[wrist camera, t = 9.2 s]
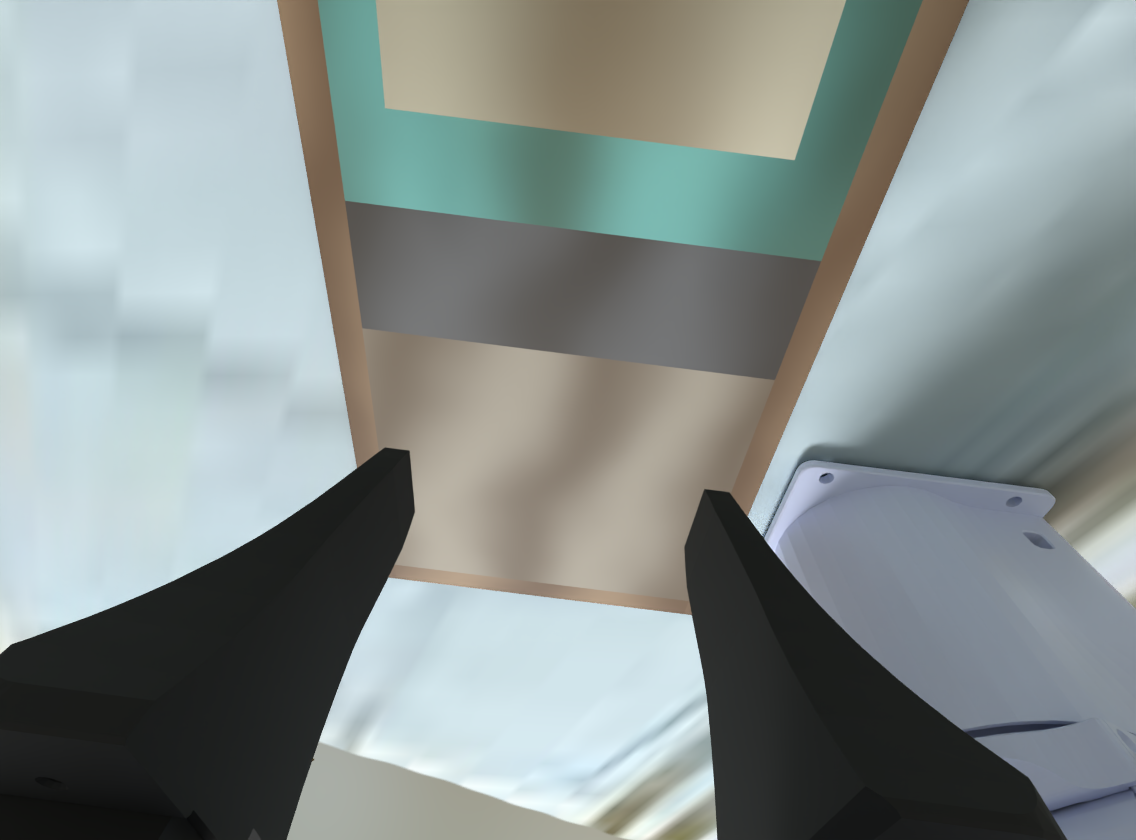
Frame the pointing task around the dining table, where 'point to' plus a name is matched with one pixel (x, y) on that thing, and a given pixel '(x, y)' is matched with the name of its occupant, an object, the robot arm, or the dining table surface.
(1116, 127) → the dining table surface
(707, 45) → the birch block
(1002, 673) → the robot arm
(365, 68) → the shallow brown tray
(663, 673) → the dining table surface
